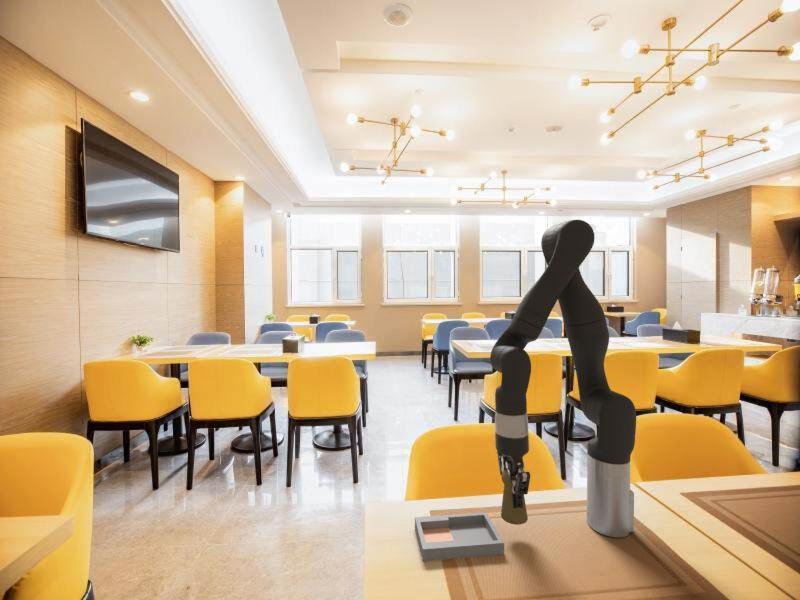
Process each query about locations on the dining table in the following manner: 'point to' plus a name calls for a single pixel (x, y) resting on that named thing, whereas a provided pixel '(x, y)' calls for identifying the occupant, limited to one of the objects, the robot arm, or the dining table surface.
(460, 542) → the grey shallow tray
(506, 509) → the olive pawn piece
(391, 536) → the dining table surface
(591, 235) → the robot arm
